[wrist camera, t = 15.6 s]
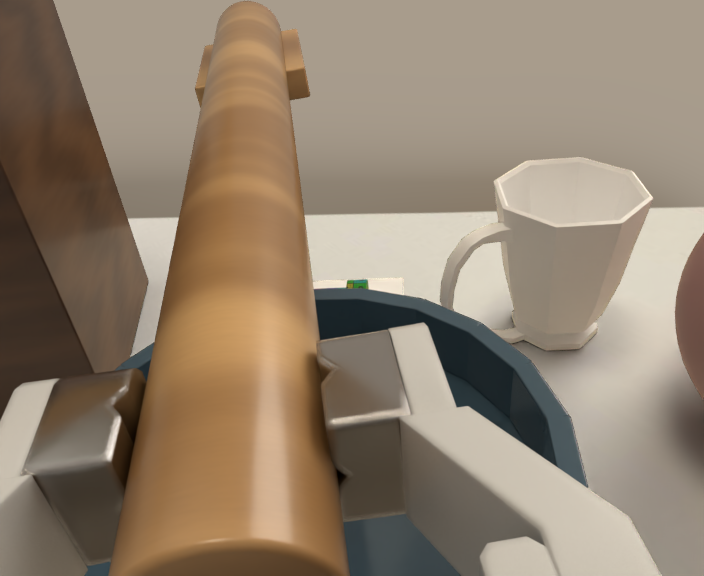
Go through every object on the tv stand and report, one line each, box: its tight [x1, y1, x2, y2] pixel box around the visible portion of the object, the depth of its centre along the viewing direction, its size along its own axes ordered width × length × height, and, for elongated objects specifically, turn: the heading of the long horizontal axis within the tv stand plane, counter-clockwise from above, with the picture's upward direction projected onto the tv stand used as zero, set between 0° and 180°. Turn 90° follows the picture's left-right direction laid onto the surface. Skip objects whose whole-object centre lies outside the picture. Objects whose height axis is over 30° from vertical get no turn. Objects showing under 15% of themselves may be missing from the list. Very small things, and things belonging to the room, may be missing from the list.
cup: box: [440, 157, 653, 351], centre depth 31 cm, size 7×10×8 cm
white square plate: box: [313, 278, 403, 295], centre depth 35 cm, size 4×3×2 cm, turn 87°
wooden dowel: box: [108, 1, 350, 576], centre depth 15 cm, size 22×4×2 cm, turn 7°
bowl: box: [84, 288, 588, 576], centre depth 23 cm, size 18×18×6 cm
